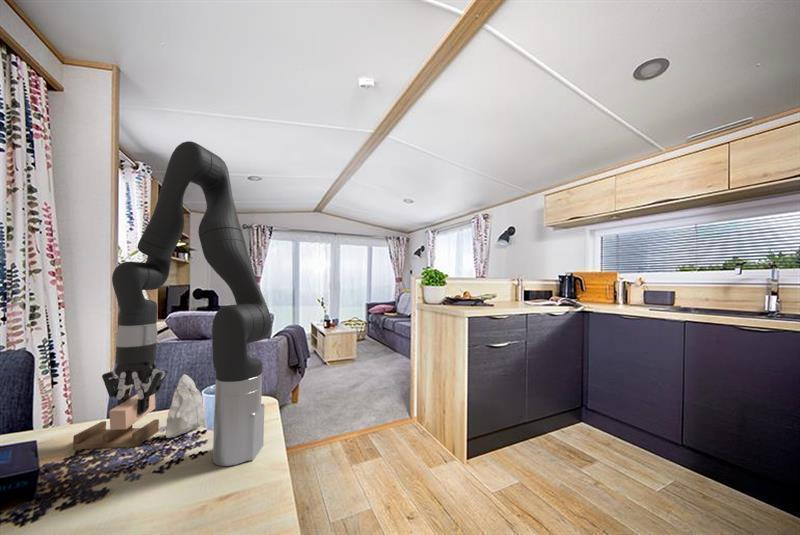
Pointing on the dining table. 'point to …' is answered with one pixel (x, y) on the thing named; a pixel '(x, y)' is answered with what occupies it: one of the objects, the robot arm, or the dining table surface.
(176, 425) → the stone tool
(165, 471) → the dining table surface
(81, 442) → the rack
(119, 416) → the pink rectangular block
